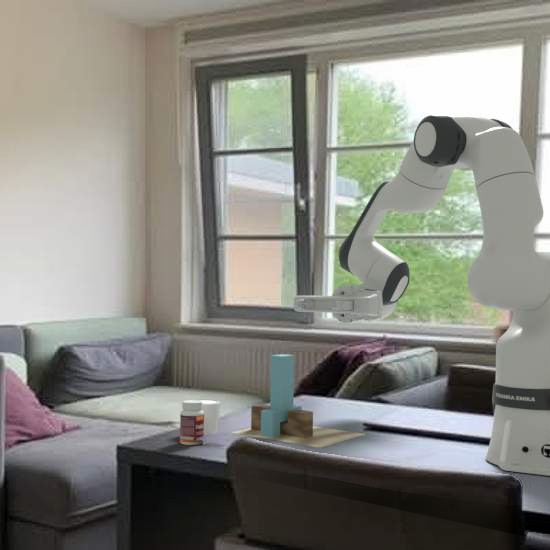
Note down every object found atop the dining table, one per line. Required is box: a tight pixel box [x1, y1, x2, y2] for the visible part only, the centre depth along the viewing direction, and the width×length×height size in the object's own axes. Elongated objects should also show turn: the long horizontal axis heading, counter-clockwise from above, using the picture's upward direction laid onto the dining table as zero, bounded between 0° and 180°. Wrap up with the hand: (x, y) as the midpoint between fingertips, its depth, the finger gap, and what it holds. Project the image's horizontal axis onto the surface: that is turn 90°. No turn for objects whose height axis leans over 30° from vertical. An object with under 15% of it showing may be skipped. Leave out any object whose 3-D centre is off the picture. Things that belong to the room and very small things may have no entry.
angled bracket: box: [261, 353, 303, 438], centre depth 162 cm, size 3×10×16 cm, turn 143°
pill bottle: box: [179, 399, 205, 446], centre depth 158 cm, size 5×5×8 cm
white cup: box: [197, 399, 221, 437], centre depth 167 cm, size 7×7×7 cm
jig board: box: [231, 403, 367, 449], centre depth 162 cm, size 22×17×6 cm
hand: (316, 304), depth 171 cm, fingers open, 8 cm apart
